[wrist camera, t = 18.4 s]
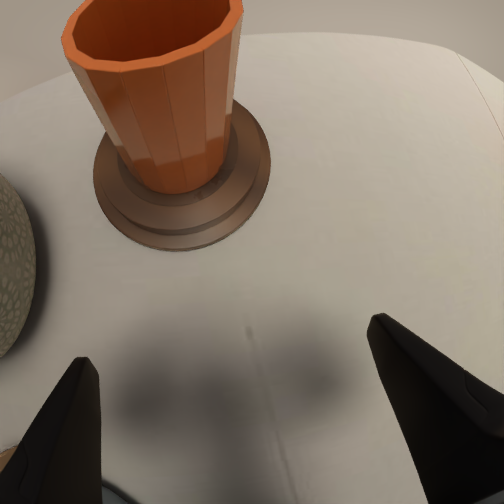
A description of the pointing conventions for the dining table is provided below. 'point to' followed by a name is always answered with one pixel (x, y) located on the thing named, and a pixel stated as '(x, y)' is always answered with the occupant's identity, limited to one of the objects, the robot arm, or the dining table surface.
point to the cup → (160, 82)
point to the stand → (187, 193)
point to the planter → (14, 265)
